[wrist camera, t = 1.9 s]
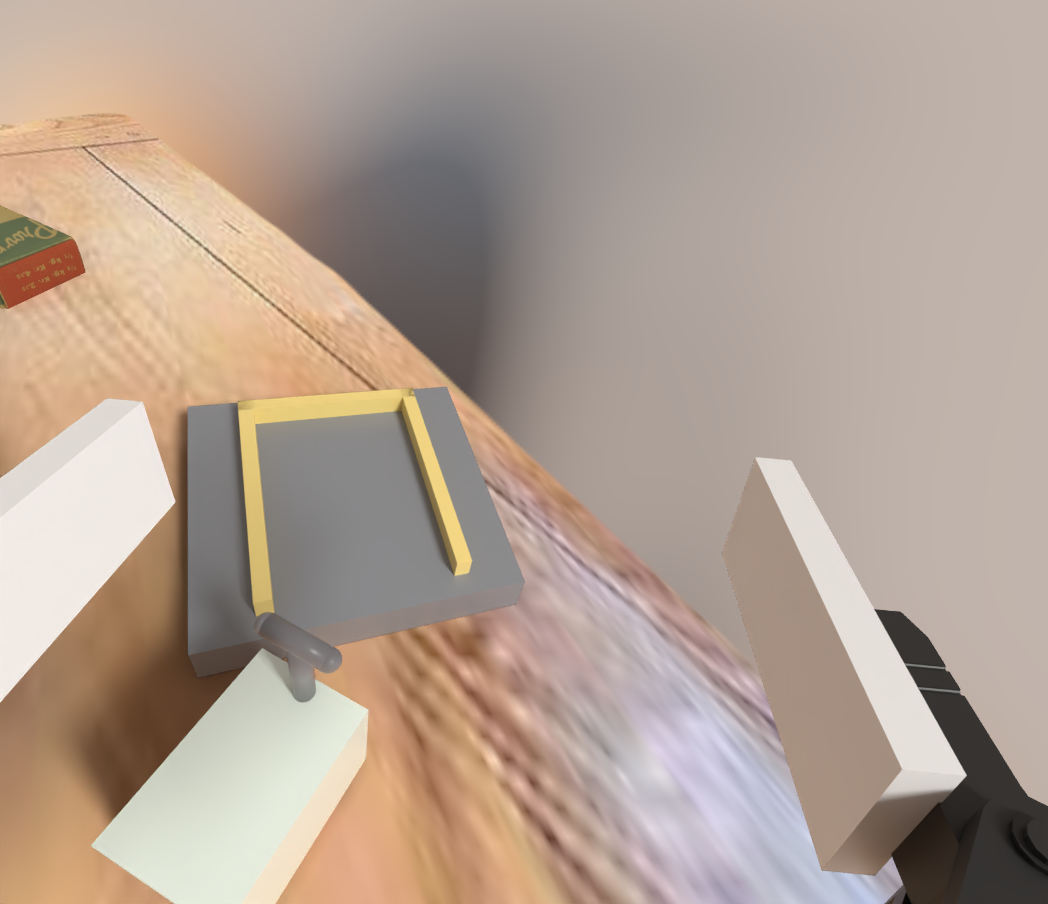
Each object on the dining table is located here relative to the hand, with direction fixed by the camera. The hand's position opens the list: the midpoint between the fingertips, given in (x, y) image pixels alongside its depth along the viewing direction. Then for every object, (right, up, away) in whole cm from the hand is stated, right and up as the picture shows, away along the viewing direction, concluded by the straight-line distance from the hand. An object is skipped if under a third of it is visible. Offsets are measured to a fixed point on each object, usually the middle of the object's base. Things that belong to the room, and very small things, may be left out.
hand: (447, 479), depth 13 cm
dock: (-11, -4, +31) cm, 33 cm away
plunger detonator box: (-12, -18, +17) cm, 28 cm away
